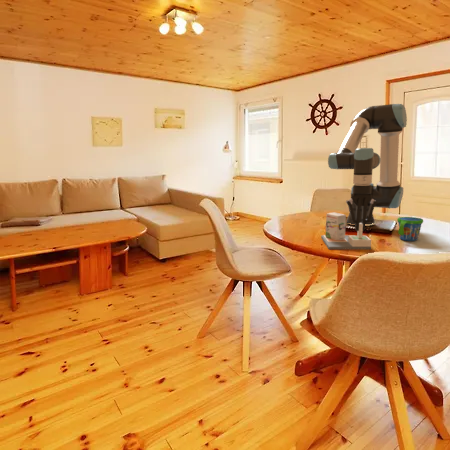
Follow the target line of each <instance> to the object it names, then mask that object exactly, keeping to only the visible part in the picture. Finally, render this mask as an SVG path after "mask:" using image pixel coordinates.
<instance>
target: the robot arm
mask: <svg viewBox="0 0 450 450" xmlns="http://www.w3.org/2000/svg"><path fill="white" fill-rule="evenodd" d="M407 120H408V118H407V110H406V107H405V105H404V104H402V103H391V104H390V103H388V104H383V105H382V104H381V105H372V106H368V107H366V108H364V109H362V110H361V111H359V112H358V113H357V114H356V115H355V116H354V117H353V118H352V120H351V122H350V126H349V127H350V128H349V130H348V132H347V134H346V135H345V137H344V138H343V141H342V142H341V144H340V146H339V149H338V150H337V152H333V153H332V152H331V153H330V154H329V155H328V158H327V159H328V160H327V164H328V168H329V169H331V170H353V179H352V180H353V181H352V182H353V183H352V184H353V185H352V187H351V189H350V190H351V192H350V199H347V200H346V201H345V203H346V204H347V206H348V207H347V208H348V212H349V213H348V215H347V217H346V218H347V219H346V223H347V222H348V223H351V224H355V226H354V227H355V228H354V230H355V231H356V232H357V237H358V238H362V236H363V231H365V230H366V227H365V224H372V223H376V221H375V217H374V214H373V212H374V209H375V208H379V209H380V208H383V209H398V208H399V207H400V205H401V203H402V200H403V196H404V187H402V186H401V183H400V181H399V180H398V172H399V171H398V167H399V148H400V147H399V145H400V134H401V133H402V132H403V129H404V128H406V127H407V123H408V121H407ZM369 130H377V134H379V135H380V150H379V151H380V154H378V153H377V152H374V149H373V148H372V147H364V148H363V147H362V148H358V147H359V145H360V143H361V141H362V139H363V137H364V135H365V134H366V133H367V132H368V131H369ZM378 167H379V180H378V181H377V183H376V186H375V185H374V183H373V170H375V169H376V168H378Z"/></svg>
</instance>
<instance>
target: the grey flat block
mask: <svg viewBox="0 0 450 450" xmlns="http://www.w3.org/2000/svg"><path fill="white" fill-rule="evenodd" d="M320 236H321V240H322V242H323V243H324V244H325V246H326V248H327V249H328V250H372V239H371V238H369V237H368V236H367V235H362V237H365V238H367V239H353V238H352V237H357V235H354V234H353V235H350V234H349V235H346V234H345V239H343V240H334V239H331V238H328V237H326V234H323V235H320Z"/></svg>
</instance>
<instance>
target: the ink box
mask: <svg viewBox="0 0 450 450" xmlns="http://www.w3.org/2000/svg"><path fill="white" fill-rule="evenodd" d="M346 218H347V215H346V214H343V213H339V212H335V211H333V212H328V213H326V216H325V220H326V221H325V235H326V237H328V238H331V239H334V240H343V239H345V235H346V224H347V219H346Z"/></svg>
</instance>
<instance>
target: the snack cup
mask: <svg viewBox="0 0 450 450" xmlns="http://www.w3.org/2000/svg"><path fill="white" fill-rule="evenodd" d="M396 219H397V223H398V230H397V233H398V235H399V239H400V240H402V241H406V242H415V241H417V240H418V239H419V236H420V232H421V229H422V228H421V227H422V224H423V223H424V219H423V218H421V217H415V216H414V217H413V216H399V217H398V218H396Z"/></svg>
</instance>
